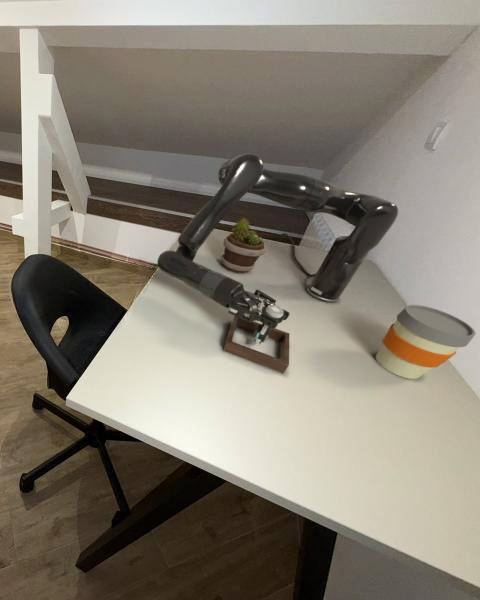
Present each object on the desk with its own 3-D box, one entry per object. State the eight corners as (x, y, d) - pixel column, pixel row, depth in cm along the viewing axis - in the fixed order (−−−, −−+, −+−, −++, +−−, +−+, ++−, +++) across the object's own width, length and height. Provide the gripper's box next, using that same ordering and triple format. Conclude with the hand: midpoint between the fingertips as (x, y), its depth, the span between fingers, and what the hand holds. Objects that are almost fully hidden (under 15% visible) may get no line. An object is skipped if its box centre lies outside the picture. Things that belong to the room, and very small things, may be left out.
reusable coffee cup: (428, 366, 81) (474, 321, 72) (430, 393, 73) (481, 346, 64) (369, 342, 87) (404, 298, 79) (364, 364, 80) (403, 318, 71)
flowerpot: (250, 261, 126) (271, 213, 115) (259, 279, 114) (283, 227, 103) (213, 255, 128) (230, 208, 117) (218, 272, 116) (237, 221, 105)
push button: (265, 352, 78) (283, 322, 72) (243, 341, 80) (259, 312, 74) (272, 338, 82) (290, 309, 76) (251, 328, 84) (267, 299, 78)
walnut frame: (231, 323, 90) (234, 314, 89) (284, 341, 85) (289, 333, 83) (223, 350, 80) (227, 341, 78) (283, 373, 75) (289, 365, 73)
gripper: (209, 284, 80) (275, 318, 69) (238, 270, 87) (302, 299, 77) (201, 307, 84) (262, 343, 73) (229, 292, 92) (288, 322, 81)
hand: (282, 320), depth 75 cm, fingers closed on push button, 5 cm apart
